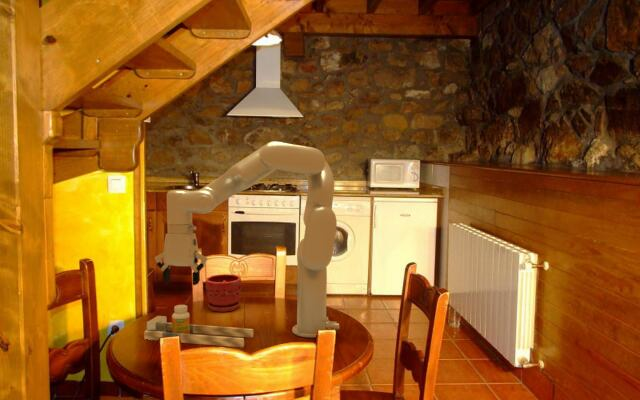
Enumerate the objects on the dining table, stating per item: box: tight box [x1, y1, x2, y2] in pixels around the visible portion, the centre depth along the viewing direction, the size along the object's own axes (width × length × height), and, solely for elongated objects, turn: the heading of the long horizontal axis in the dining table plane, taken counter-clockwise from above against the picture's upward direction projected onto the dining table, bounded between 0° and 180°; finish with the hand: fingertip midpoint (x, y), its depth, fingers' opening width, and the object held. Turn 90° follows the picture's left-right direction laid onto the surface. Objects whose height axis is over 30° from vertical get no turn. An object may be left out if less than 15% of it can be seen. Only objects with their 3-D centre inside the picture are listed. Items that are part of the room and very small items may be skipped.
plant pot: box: [205, 273, 242, 313], centre depth 194 cm, size 13×13×12 cm
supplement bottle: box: [171, 304, 191, 334], centre depth 162 cm, size 5×5×10 cm
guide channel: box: [143, 315, 254, 348], centre depth 161 cm, size 32×10×5 cm, turn 79°
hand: (181, 283), depth 162 cm, fingers open, 9 cm apart
